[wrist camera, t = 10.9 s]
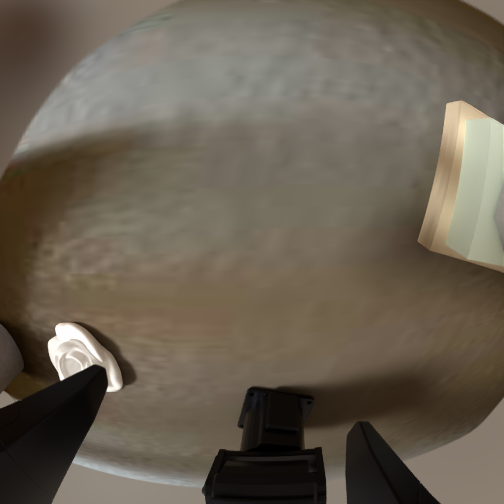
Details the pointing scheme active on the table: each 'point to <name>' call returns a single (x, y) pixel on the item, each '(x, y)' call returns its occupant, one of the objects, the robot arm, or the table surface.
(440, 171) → the tower base
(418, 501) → the robot arm
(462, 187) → the tower top
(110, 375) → the rose
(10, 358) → the pillar candle
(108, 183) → the table surface
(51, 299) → the table surface
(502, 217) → the flask
